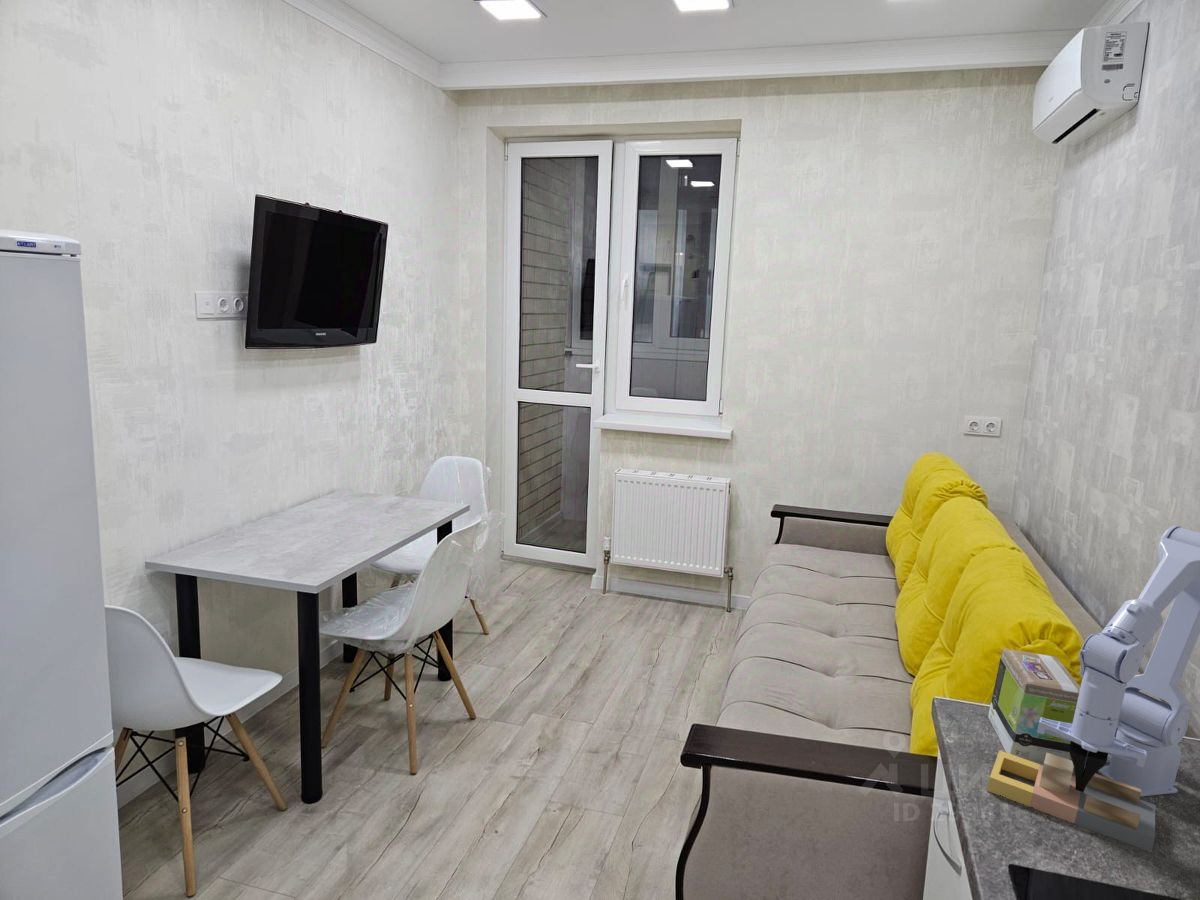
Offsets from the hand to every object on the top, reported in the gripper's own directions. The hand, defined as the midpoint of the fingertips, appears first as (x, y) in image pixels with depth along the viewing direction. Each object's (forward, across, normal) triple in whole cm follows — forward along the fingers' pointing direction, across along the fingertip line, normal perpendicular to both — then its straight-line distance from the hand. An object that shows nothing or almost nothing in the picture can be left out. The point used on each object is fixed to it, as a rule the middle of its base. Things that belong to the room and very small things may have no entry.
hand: (1079, 788), depth 129 cm
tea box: (+4, -9, +16) cm, 19 cm away
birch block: (+1, -3, 0) cm, 4 cm away
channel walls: (+1, +4, 0) cm, 5 cm away
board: (+3, -1, 0) cm, 4 cm away
